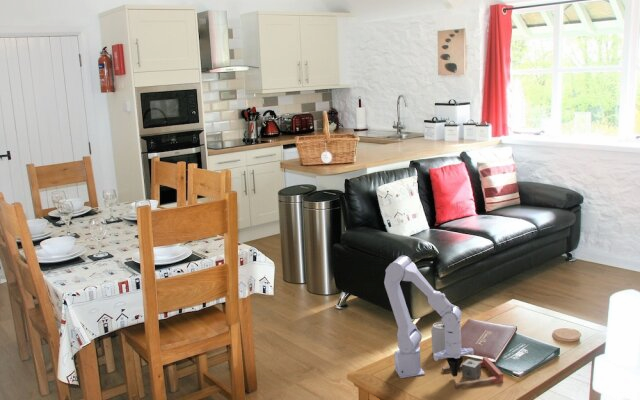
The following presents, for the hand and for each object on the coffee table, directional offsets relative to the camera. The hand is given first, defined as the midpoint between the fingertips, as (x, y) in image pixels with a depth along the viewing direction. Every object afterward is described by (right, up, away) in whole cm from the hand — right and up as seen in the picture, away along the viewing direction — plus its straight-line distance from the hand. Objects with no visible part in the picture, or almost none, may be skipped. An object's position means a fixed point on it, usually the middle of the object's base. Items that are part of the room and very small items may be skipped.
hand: (454, 375), depth 222 cm
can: (0, +3, +21) cm, 21 cm away
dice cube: (+7, -1, +2) cm, 7 cm away
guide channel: (+6, -1, +1) cm, 6 cm away
